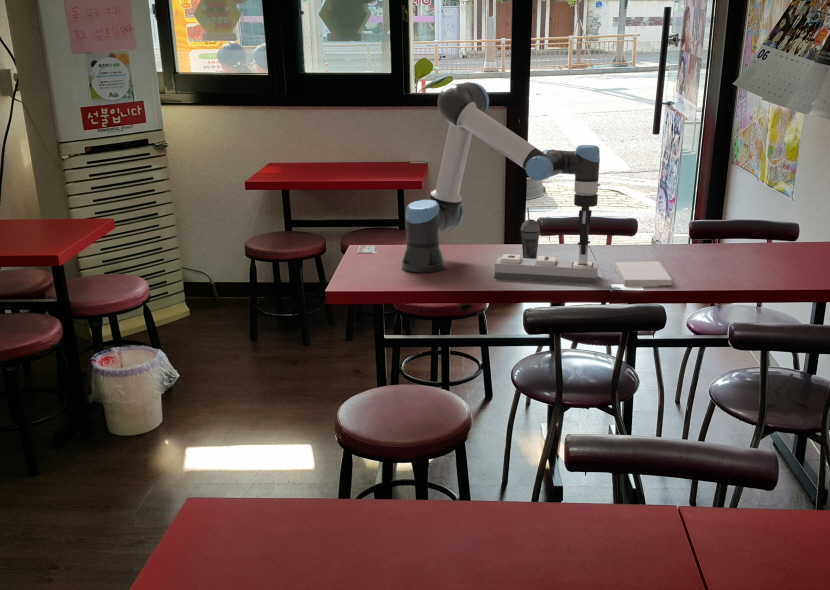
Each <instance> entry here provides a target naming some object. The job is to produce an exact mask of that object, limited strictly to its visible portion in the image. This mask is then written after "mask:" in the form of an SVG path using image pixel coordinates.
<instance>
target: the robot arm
mask: <svg viewBox="0 0 830 590" xmlns="http://www.w3.org/2000/svg"><path fill="white" fill-rule="evenodd" d="M489 104H490V97H489V94H488V91H487V90H486V89H485V87H484V86H482V85H481V84H479V83H478V82H477V83H476V82H469V81H466V82H464V83H453V84H448V85H446V86H445V87H444V88H443V89H442V90H441V91H440V92H439V95H438V98H437V108H438V111H439V113H440V114H441V115H442V117H443V118H444V119H445V120H446V121H447V123H448V129H447V133H446V140H445V144H444V148H443V153H442V158H441V163H440V167H439V172H438V177H437V180H436V181H437V182H436V185H435V189H433V190H431V192H430V195H429V199H420V200H416V201H413V202H410V203H408V205H407V206H406V208H405V209H406V210H405V227H406V228H405V229H406V230H405V231H406V232H405V233H406V248H405V251H404V255H403V258H402V260H401V268H403V269H402V270H404V271H406V270H407V271H406V272H409V271H410V273H415V272H417V274H419V273H420V274H428V272H430V273H435V272H439V271H440V272H441V271H442V270H444V269H445V260H444V259H445V258H444V257H443V253H442V251H441V248H440V234H442V233H444V232H449V231H451V230H453V229H455V228H456V227H458V225H460V223H461V222H462V221H463V218H464V213H465V212H464V206H462V205H463V203H462V201H463V198H462V196H461V194H460V190H461V186H462V182H463V177H464V174H465V173H464V172H465V167H466V163H467V159H468V155H469V150H470V145H471V141H472V137H473V135H474V136H475V137H477V138H478V139H480V140H482V141H483V142H484V143H486V144H488V145H489V146H490V147H492V148H493V149H495V150H496V151H498V152H499V153H501V154H502V155H503V156H505V157H507V158H508V159H509V160H510V161H512V162H514V163H515V164H517V165H518V166H520V167H521V168H522V169H524V170H525V173H526V175H527V176H528V177H529V178H530V179H531V180H533V181H543V180H544V181H545V180H548V178H551V177H554V176H556V175H559V174H560V175H561V174H563V175H574V187H573V188H574V189H573V190H574V192H575V194H574V199H573V205H574V206H576V207H581V209H579V211H578V218H579V219H578V220H579V221H578V224H579V242H577V246H578V247H579V248H578V251H579V253H578V261H579V264H587V262H588V257H589V256H588V253H589V249H588V248H589V244H591V241H589V233H590V224H591V218H592V214H593V213H592V212H593V211H592V210H590V208H592V207H596V206H598V201H599V200H598V197H599V195H598V194H597V193H599V192H598V191H599V187H601V184H600V183H599V178H600V177H599V175H600V162H601V158H600V148H599V146H598V145H594V144H580V145H577V146H576V148H575V150H561V149H560V150H559V149H553V148H552V149H545V150H544V149H543V150H542V151H541V150H540V149H539V148H537V147H536V146H534V145H533V144H531V143H530V142H528V141H527V140H525V139H524V138H523V137H521V136H519V134H516V133H515V132H514V131H512V130H511V129H509V128H507V126H504V125H503V124H501V123H500V122H498V121H497V120H496V119H494V118H493V117H491V116H489V115H488V114H487V113H486V112H487V111H488V108H489Z"/></svg>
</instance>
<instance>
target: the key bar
mask: <svg viewBox="0 0 830 590" xmlns="http://www.w3.org/2000/svg"><path fill="white" fill-rule="evenodd" d="M536 259H537V265H544V266H556V260H557V256H548V255H547V256H546V255H538V256H537V258H536Z"/></svg>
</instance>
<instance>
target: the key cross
mask: <svg viewBox="0 0 830 590" xmlns="http://www.w3.org/2000/svg"><path fill="white" fill-rule="evenodd" d="M573 261H574V264H573V267H581V268H592V262H593V261H587V264H579V262H577V261H578V260H573Z"/></svg>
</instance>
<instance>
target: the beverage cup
mask: <svg viewBox="0 0 830 590" xmlns="http://www.w3.org/2000/svg"><path fill="white" fill-rule="evenodd" d="M529 209H530V208H529V207H526V210H527V211H526V212H527V220H525V221H524V222H523V223H522V224H521V227H520V230H519V231H520V237H521V246H522V258H528V259H537V258H538V248H539V238H540V235H541V231H542V230H541V227H540V224H539V223H538V222H537V220H534V219H530V210H529Z"/></svg>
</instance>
